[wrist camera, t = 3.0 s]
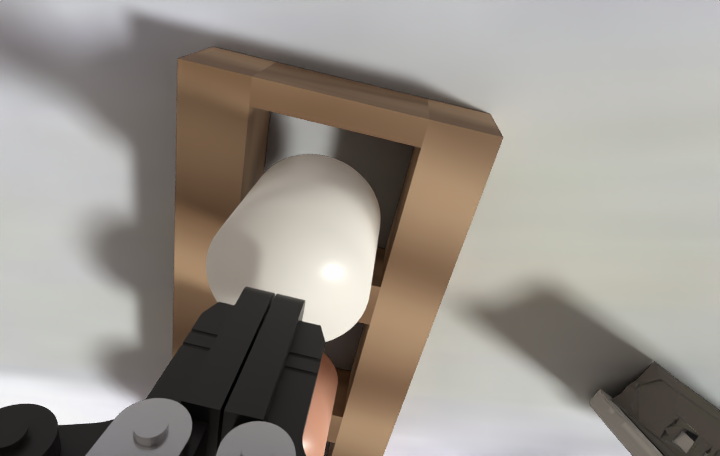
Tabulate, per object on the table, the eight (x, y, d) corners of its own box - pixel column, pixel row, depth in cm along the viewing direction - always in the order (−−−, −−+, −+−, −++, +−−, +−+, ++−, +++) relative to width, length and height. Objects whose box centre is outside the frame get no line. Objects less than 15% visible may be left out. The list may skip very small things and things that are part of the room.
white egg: (266, 130, 16) (210, 187, 12) (396, 162, 16) (388, 230, 12) (254, 241, 18) (202, 324, 14) (367, 269, 18) (351, 360, 14)
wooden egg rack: (213, 46, 18) (177, 58, 15) (490, 114, 18) (503, 137, 15) (192, 439, 29) (170, 484, 27) (360, 479, 29) (355, 528, 27)
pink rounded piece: (246, 308, 20) (197, 401, 15) (350, 333, 20) (331, 432, 16) (237, 382, 22) (193, 481, 18) (331, 404, 22) (310, 509, 18)
